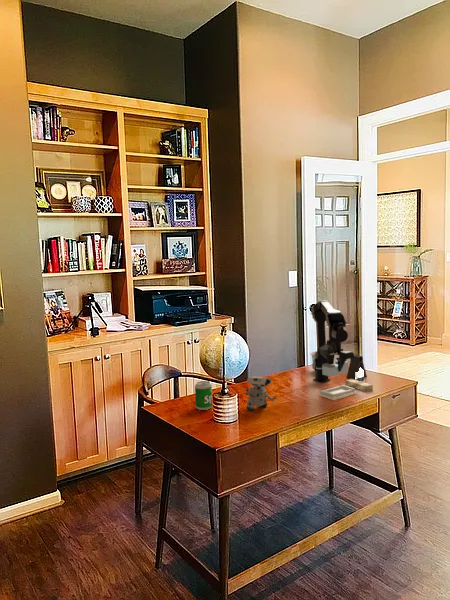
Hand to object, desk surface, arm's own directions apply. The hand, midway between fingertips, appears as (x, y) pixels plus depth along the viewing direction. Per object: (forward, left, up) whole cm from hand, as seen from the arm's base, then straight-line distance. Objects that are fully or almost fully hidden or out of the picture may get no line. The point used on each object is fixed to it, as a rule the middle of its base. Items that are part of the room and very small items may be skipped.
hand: (335, 370), depth 235 cm
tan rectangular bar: (0, +17, -12) cm, 21 cm away
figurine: (-6, -40, -12) cm, 43 cm away
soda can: (-23, -59, -12) cm, 65 cm away
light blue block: (0, 0, -1) cm, 1 cm away
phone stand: (-13, +30, -12) cm, 35 cm away
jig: (+1, +1, -12) cm, 12 cm away
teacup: (-33, +25, -12) cm, 43 cm away
